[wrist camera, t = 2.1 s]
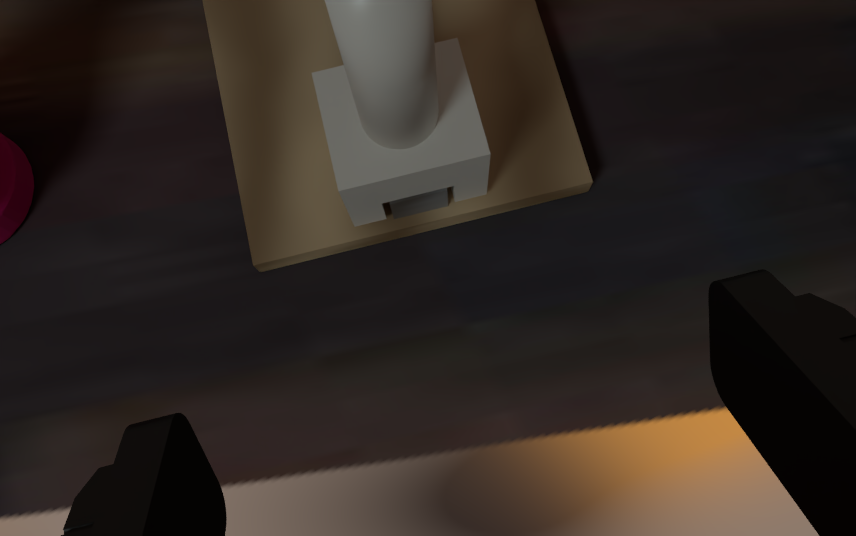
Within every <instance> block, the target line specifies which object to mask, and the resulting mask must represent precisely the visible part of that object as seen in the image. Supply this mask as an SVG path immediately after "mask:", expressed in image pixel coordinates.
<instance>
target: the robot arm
mask: <svg viewBox="0 0 856 536" xmlns="http://www.w3.org/2000/svg"><path fill="white" fill-rule="evenodd" d="M709 334H710V365H711V371H712V376H713V380H714V383H715V386H716V388H717V391H718V393H719V395H720V397H721V399H722V401H723V403H724V404H725V406H726V407H727V408H728V410H729V411H730V413H731V414H732V415H733V417H734V418H735V419H736V421H737V422H738V424H739V425H740V426H741V428H742V429H743V430H744V432H745V433H746V435H747V436H748V437H749V439H750V440H751V442H752V443H753V444H754V446H755V447H756V449H757V450H758V451H759V453H760V454H761V455H762V457H763V458H764V459H765V461H766V462H767V464H768V465H769V466H770V468H771V469H772V471H773V472H774V473H775V475H776V476H777V477H778V479H779V480H780V482H781V483H782V484H783V486H784V487H785V489H786V490H787V491H788V493H789V494H790V495H791V497H792V498H793V500H794V501H795V502H796V504H797V505H798V507H799V508H800V509H801V511H802V512H803V514H804V515H805V516H806V518H807V519H808V520H809V522H810V523H811V525H812V526H813V527H814V529H815V530H816V531H817V533H818V534H819V536H856V318H855V317H854V316H853V315H852V314H850V313H849V312H848V311H847V310H846V309H845V308H842V307H840V306H838V305H835V304H833V303H831V302H829V301H826V300H824V299H822V298H820V297H817V296H815V295H813V294H810V293H808V294H804V295H800V296H796V297H795V296H794V295H793V294H792V293H791V292H790V291H789V290H788V289H787V288H786V287H785V286H784V285H782V284H781V283H780V282H779V281H778V280H777V279H776V278H775V277H774V276H773V275H772V274H771V273H770V272H768V271H766V270H763V269H762V270H758V271H754V272H750V273H746V274H742V275H738V276H734V277H729V278H725V279H721V280H717V281H713V282H712V283H711V285H710V288H709ZM63 530H64V535H61V536H225V531H226V507H225V501H224V496H223V493H222V489H221V486H220V484H219V482H218V480H217V478H216V476H215V474H214V472H213V469H212V467H211V465H210V463H209V461H208V459H207V457H206V455H205V453H204V451H203V449H202V447H201V445H200V443H199V441H198V439H197V437H196V435H195V433H194V431H193V429H192V427H191V425H190V423H189V421H188V420H187V418H186V417H185V416H184V415H183V414H181V413H175V414H171V415H167V416H163V417H159V418H155V419H151V420H147V421H143V422H139V423H135V424H131V425H129V426H128V427H127V428H126V429H125V432H124V434H123V437H122V440H121V443H120V446H119V449H118V452H117V455H116V458H115V461H114V464H113V465H109V466H105V467H101V468H98V470H97V471H96V472H95V474H94V475H93V476H92V477H91V479H90V480H89V481H88V482H87V484H86V485H85V486H84V487H83V489H82V490H81V491H80V492H79V494H78V495H77V496H76V497H75V499H74V502H73V505H72V507H71V510H70V513H69V515H68V518H67V521H66V524H65V526H64V529H63Z"/></svg>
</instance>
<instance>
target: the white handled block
mask: <svg viewBox="0 0 856 536" xmlns="http://www.w3.org/2000/svg"><path fill="white" fill-rule="evenodd" d="M325 3H326V7H327V10H328V13H329V17H330V20H331V24H332V27H333V30H334V34H335V37H336V40H337V44H338V47H339V50H340V54H341V57H342V61H343V64H344V65H342V66H338V67H334V68H329V69H325V70H321V71H317V72H313V73H312V77H313V82H314V86H315V90H316V95H317V99H318V104H319V108H320V112H321V117H322V121H323V126H324V130H325V134H326V139H327V143H328V148H329V152H330V156H331V161H332V165H333V170H334V174H335V178H336V183H337V187H338V191H339V194H340V196H341V198H342V200H343V202H344V205H345V207H346V209H347V211H348V213H349V216H350V218H351V220H352V222H353V224H354V227H356V226H360V225H364V224H368V223H372V222H376V221H380V220H384V219H386V215H385V210H384V206H383V203H386V202H390V201H394V200H398V199H402V198H406V197H411V196H415V195H419V194H423V193H427V192H431V191H435V190H439V189H443V188H447V187H451V190H452V193H453V197H454V201H455V202H458V201H462V200H466V199H470V198H474V197H478V196H482V195H486V194H487V185H488V175H489V165H490V155H491V154H490V150H489V147H488V143H487V140H486V136H485V133H484V129H483V126H482V122H481V119H480V115H479V112H478V108H477V105H476V101H475V98H474V94H473V91H472V87H471V84H470V80H469V77H468V73H467V70H466V66H465V63H464V59H463V56H462V52H461V49H460V45H459V42H458V38H454V39H449V40H445V41H441V42H437V43H435V42H434V27H433V11H432V0H325Z"/></svg>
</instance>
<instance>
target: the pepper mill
mask: <svg viewBox="0 0 856 536" xmlns="http://www.w3.org/2000/svg"><path fill="white" fill-rule="evenodd" d="M33 191H34V177H33V173H32V168H31V165H30V163H29V161H28V159H27V157H26V155H25V153H24V152H23V151H22V150H21V148H20V147H19V146H18V145H17V144H15V143H14V142H13V141H11V140H10V139H9V138H7V137H6V136H4V135H3V134H2V133H0V244H2V243H3V242H4V241H6V240H7V239H8V238H10V237H11V236H12V234H13V233H14V232H15V231H16V229H17V228H18V227H19V226H20V225H21V223H22V222H23V221H24V219H25V217H26V215H27V213H28V211H29V208H30V206H31V203H32V198H33Z"/></svg>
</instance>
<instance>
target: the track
mask: <svg viewBox="0 0 856 536" xmlns="http://www.w3.org/2000/svg"><path fill="white" fill-rule="evenodd" d="M203 5H204V11H205V16H206V21H207V26H208V31H209V37H210V42H211V47H212V52H213V58H214V63H215V68H216V73H217V78H218V84H219V89H220V94H221V99H222V105H223V110H224V115H225V120H226V126H227V131H228V136H229V141H230V146H231V152H232V157H233V162H234V167H235V173H236V178H237V183H238V188H239V193H240V199H241V204H242V209H243V214H244V220H245V225H246V230H247V235H248V241H249V246H250V251H251V256H252V261H253V266H254V267H255V268H256V269H258V270H259V271H260V272H264V271H268V270H272V269H276V268H280V267H284V266H288V265H292V264H296V263H300V262H304V261H308V260H312V259H316V258H320V257H324V256H328V255H333V254H337V253H341V252H345V251H349V250H353V249H357V248H361V247H365V246H369V245H373V244H377V243H381V242H385V241H389V240H393V239H397V238H402V237H406V236H410V235H414V234H418V233H422V232H426V231H430V230H434V229H438V228H442V227H446V226H450V225H454V224H458V223H462V222H467V221H471V220H475V219H479V218H483V217H487V216H491V215H495V214H499V213H503V212H507V211H511V210H515V209H519V208H523V207H527V206H531V205H536V204H540V203H544V202H548V201H552V200H556V199H560V198H564V197H568V196H572V195H576V194H580V193H584V192H588V191H589V189H590V187H591V185H592V183H593V181H592V177H591V174H590V171H589V168H588V165H587V162H586V159H585V156H584V152H583V149H582V146H581V143H580V140H579V137H578V134H577V131H576V127H575V124H574V121H573V118H572V115H571V112H570V109H569V106H568V102H567V99H566V96H565V93H564V90H563V87H562V84H561V81H560V77H559V74H558V71H557V68H556V65H555V62H554V59H553V55H552V52H551V49H550V46H549V43H548V40H547V37H546V34H545V30H544V27H543V24H542V21H541V18H540V15H539V12H538V9H537V5H536V2H535V0H432V11H433V27H434V42H435V43H437V42H441V41H445V40H449V39H454V38H458V42H459V45H460V49H461V52H462V56H463V59H464V63H465V66H466V70H467V73H468V77H469V80H470V84H471V87H472V91H473V94H474V98H475V101H476V105H477V108H478V112H479V115H480V119H481V122H482V126H483V129H484V133H485V136H486V140H487V143H488V147H489V150H490V154H491V155H490V165H489V175H488V185H487V194H486V195H482V196H478V197H474V198H470V199H466V200H462V201H458V202H455V201H454V197H453V193H452V190H451V187H447V188H443V189H439V190H435V191H431V192H427V193H423V194H419V195H415V196H411V197H406V198H402V199H398V200H394V201H390V202H386V203H383V206H384V210H385V215H386V219H384V220H380V221H376V222H372V223H368V224H364V225H360V226H356V227H354V224H353V222H352V220H351V218H350V216H349V213H348V211H347V209H346V207H345V205H344V202H343V200H342V198H341V196H340V194H339V191H338V187H337V183H336V178H335V174H334V170H333V165H332V161H331V156H330V152H329V148H328V143H327V139H326V134H325V130H324V126H323V121H322V117H321V112H320V108H319V104H318V99H317V95H316V90H315V86H314V82H313V77H312V73H313V72H317V71H321V70H325V69H329V68H334V67H338V66H342V65H344V64H343V61H342V57H341V54H340V50H339V47H338V44H337V40H336V37H335V34H334V30H333V27H332V24H331V20H330V17H329V13H328V10H327V7H326V3H325V0H203Z"/></svg>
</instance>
